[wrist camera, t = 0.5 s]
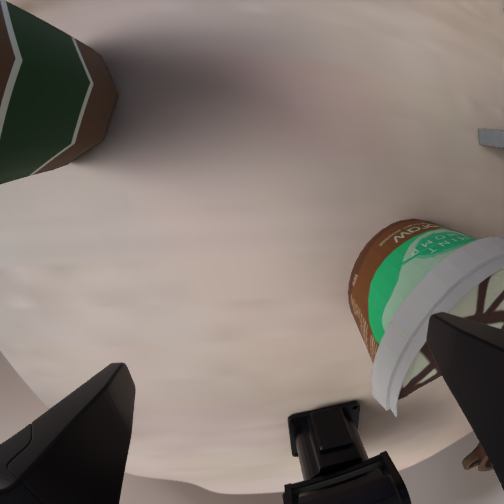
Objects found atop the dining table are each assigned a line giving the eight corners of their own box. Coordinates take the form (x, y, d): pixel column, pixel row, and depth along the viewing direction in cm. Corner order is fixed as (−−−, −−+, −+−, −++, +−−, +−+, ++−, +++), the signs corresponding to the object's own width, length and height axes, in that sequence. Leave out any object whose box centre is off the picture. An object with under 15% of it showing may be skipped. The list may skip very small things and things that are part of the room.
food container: (453, 176, 20) (560, 210, 10) (466, 249, 22) (554, 306, 12) (303, 246, 20) (361, 335, 11) (332, 320, 23) (386, 422, 13)
